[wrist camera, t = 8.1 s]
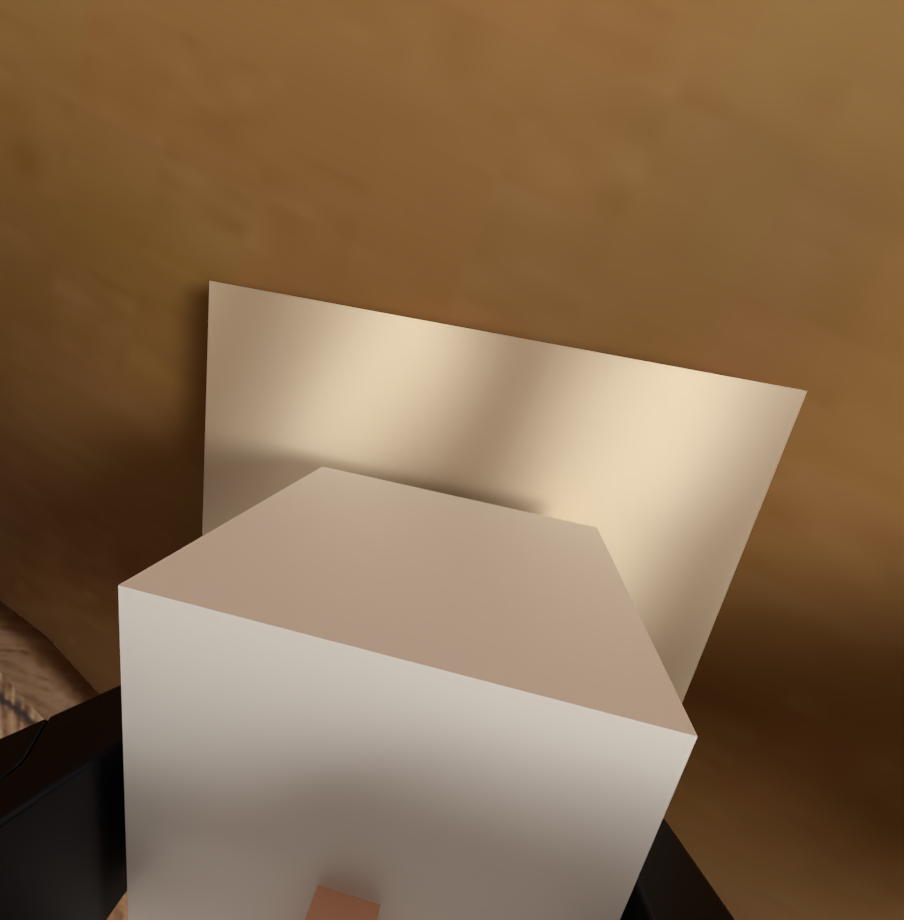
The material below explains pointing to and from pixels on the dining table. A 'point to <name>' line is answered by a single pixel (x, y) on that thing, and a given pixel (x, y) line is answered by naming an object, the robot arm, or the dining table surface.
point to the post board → (501, 438)
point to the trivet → (37, 686)
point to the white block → (390, 715)
